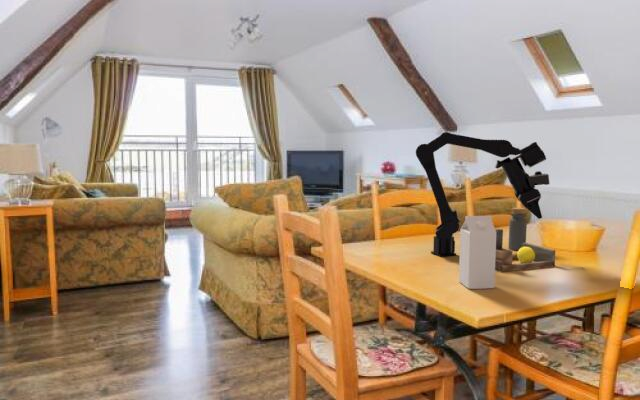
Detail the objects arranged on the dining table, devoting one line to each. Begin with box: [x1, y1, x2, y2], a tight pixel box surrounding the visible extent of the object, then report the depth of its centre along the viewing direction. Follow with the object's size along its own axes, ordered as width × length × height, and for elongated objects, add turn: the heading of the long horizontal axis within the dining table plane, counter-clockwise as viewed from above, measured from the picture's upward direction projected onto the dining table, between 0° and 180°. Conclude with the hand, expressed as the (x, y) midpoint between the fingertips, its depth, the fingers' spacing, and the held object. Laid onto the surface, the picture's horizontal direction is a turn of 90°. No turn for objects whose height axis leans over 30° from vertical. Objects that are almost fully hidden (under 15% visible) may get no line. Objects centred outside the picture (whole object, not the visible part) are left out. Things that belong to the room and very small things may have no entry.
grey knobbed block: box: [495, 228, 513, 265], centre depth 157 cm, size 4×9×11 cm, turn 20°
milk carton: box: [458, 215, 496, 290], centre depth 135 cm, size 7×7×19 cm
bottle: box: [507, 207, 528, 252], centre depth 182 cm, size 6×6×15 cm
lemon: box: [516, 247, 535, 263], centre depth 161 cm, size 7×5×5 cm
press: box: [495, 242, 556, 273], centre depth 160 cm, size 21×13×5 cm, turn 110°
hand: (538, 216), depth 166 cm, fingers open, 9 cm apart
